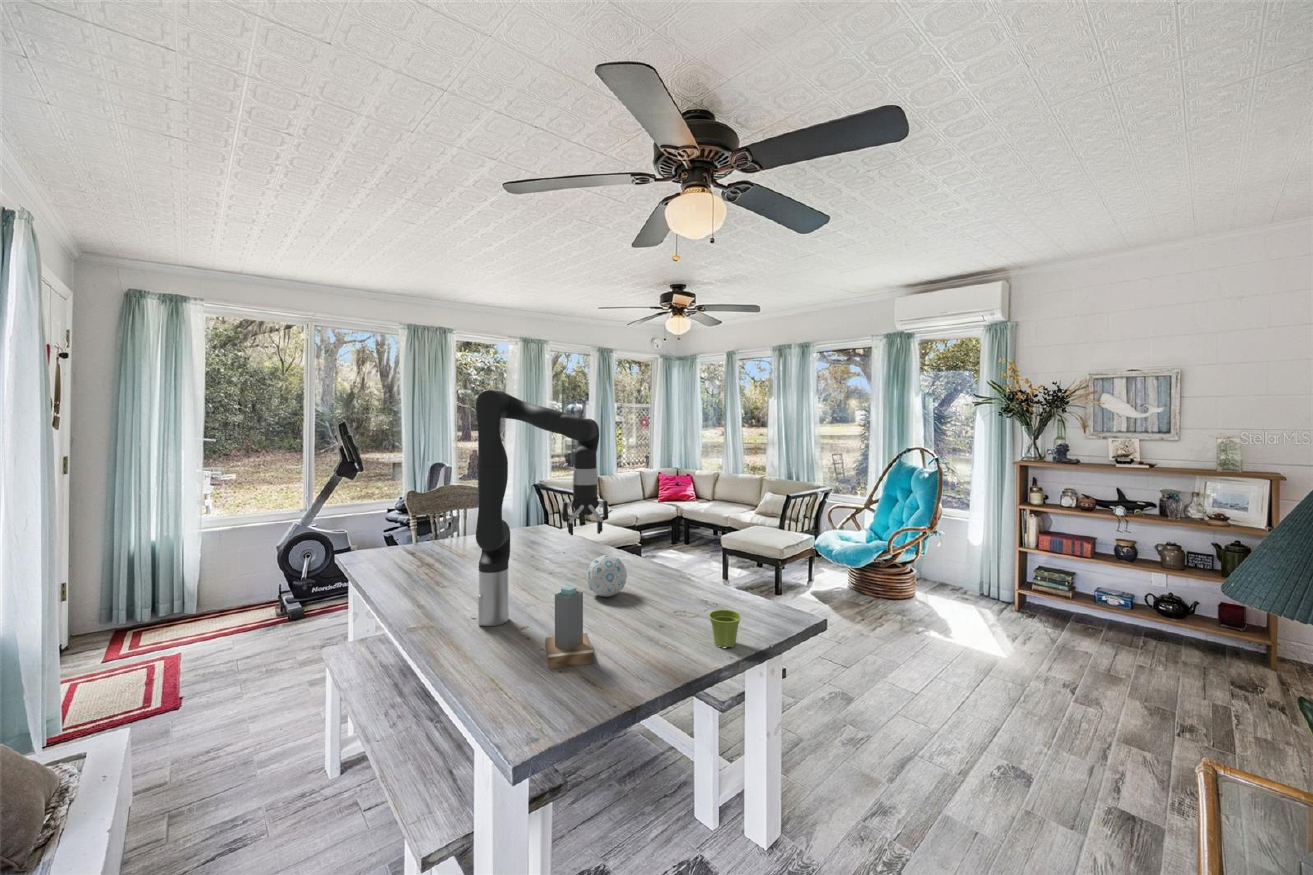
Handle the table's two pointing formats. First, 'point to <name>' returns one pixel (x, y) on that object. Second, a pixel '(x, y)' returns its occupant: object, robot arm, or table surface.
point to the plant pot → (724, 627)
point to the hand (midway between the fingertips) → (585, 534)
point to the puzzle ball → (606, 575)
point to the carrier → (568, 620)
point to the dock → (568, 654)
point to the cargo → (568, 591)
